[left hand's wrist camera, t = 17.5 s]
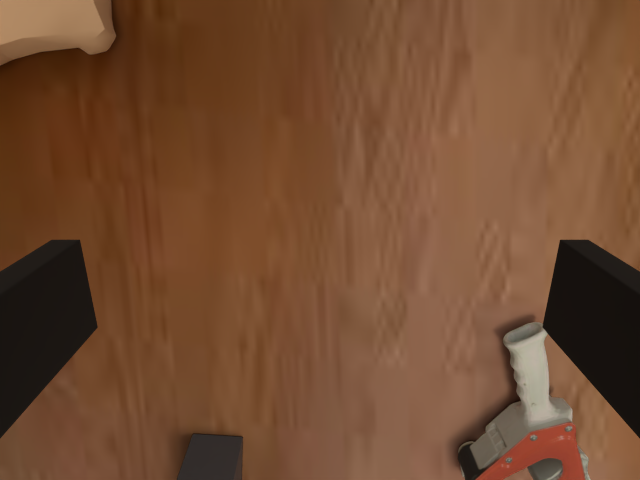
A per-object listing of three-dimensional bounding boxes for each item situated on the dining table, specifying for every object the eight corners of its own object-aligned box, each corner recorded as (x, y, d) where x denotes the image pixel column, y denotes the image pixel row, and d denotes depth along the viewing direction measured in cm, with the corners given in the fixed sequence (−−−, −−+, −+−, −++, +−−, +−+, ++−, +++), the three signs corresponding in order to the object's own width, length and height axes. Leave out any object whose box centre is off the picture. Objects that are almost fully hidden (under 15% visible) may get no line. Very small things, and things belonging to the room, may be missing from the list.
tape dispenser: (514, 302, 45) (402, 442, 50) (539, 326, 40) (411, 479, 45) (645, 382, 47) (526, 508, 52) (683, 414, 42) (548, 551, 47)
